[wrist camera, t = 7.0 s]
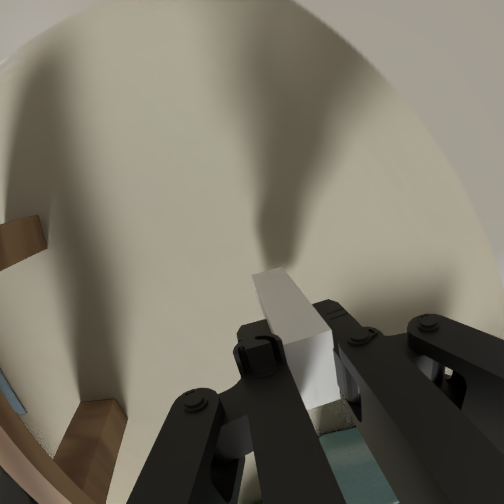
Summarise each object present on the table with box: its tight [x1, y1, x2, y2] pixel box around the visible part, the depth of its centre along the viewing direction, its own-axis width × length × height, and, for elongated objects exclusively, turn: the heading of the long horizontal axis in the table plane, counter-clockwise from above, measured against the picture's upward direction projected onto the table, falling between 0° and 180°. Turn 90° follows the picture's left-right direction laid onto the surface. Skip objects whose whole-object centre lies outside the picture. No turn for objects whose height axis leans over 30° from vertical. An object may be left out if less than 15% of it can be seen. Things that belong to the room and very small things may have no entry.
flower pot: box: [319, 427, 400, 504], centre depth 16 cm, size 9×9×9 cm
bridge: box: [0, 215, 128, 504], centre depth 11 cm, size 3×14×9 cm, turn 14°
